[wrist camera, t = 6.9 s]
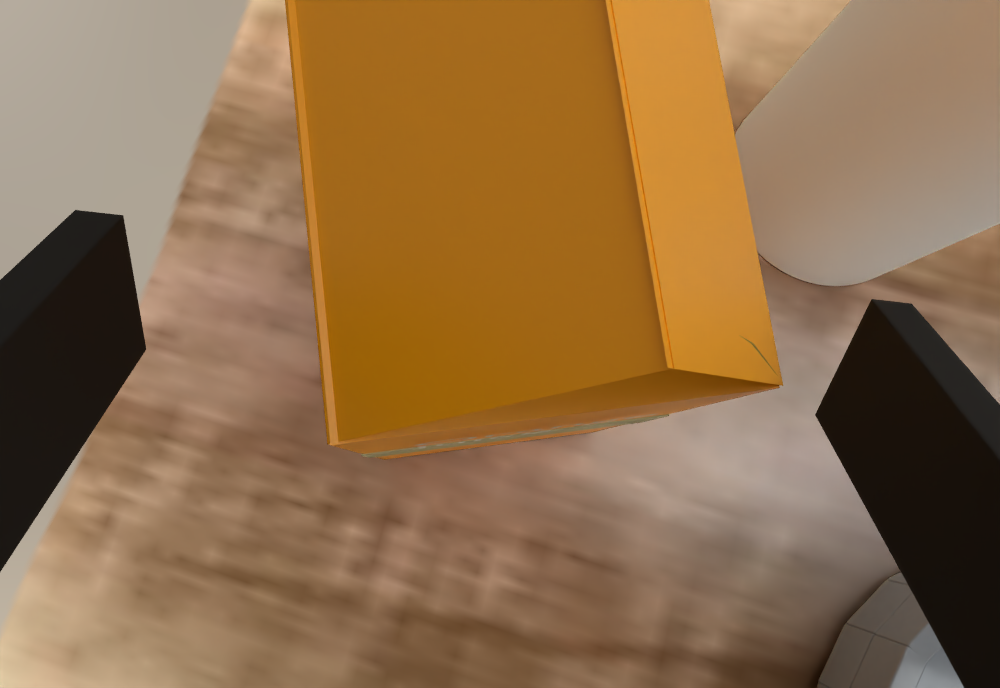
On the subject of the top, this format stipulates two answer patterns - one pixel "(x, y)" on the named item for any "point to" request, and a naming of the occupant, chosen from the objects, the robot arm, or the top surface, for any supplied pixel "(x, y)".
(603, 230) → the orange juice
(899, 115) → the cup
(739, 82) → the top surface
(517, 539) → the top surface
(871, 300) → the robot arm
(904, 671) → the pan
